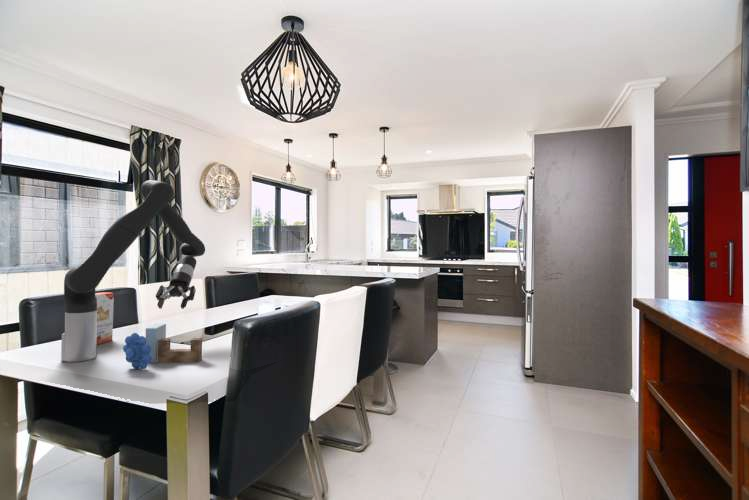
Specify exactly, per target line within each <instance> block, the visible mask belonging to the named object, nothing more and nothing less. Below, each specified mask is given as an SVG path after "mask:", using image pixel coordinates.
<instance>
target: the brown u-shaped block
mask: <svg viewBox="0 0 749 500" xmlns="http://www.w3.org/2000/svg"><path fill="white" fill-rule="evenodd" d="M201 361H203V338H202V337H193V338H192V339H190V348H171V338H167V337H166V338H161V339H160V340H158V361H157V363H158V364H163V363H165V364H167V363H169V364H171V363H173V364H174V363H175V364H176V363H177V364H179V363H180V364H181V363H200V362H201Z"/></svg>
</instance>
